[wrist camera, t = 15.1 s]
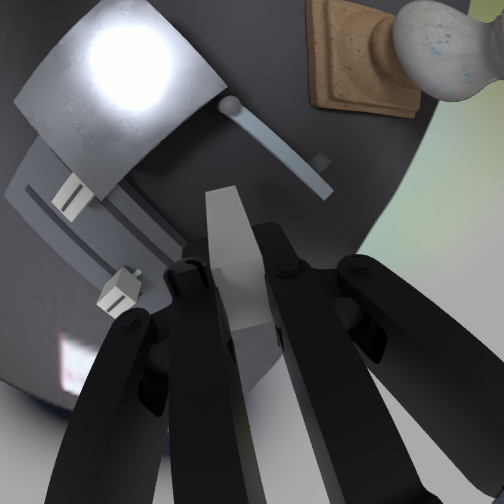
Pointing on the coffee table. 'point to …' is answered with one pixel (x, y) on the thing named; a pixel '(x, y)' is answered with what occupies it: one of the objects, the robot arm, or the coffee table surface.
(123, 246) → the console
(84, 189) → the fader
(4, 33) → the coffee table surface
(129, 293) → the fader
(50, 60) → the cabinet
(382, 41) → the candle holder
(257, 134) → the door
